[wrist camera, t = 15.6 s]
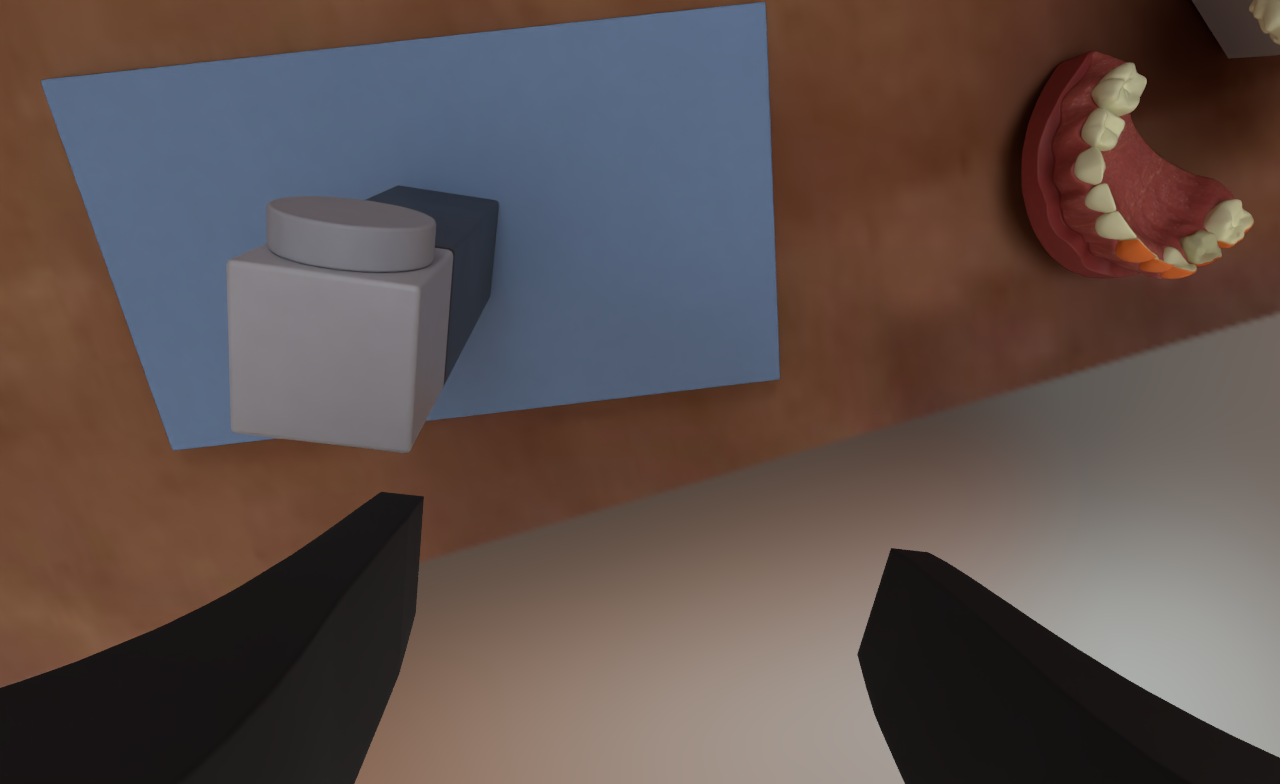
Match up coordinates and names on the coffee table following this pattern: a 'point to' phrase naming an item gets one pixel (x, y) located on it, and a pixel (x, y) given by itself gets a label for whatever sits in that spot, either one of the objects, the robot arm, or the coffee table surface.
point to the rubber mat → (465, 165)
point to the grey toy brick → (355, 314)
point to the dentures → (1120, 178)
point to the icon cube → (1236, 28)
